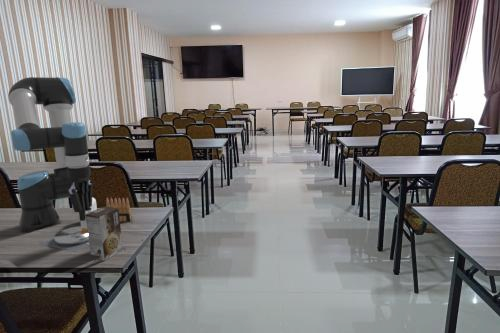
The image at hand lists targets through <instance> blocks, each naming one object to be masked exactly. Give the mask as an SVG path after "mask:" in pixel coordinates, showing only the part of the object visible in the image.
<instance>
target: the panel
mask: <svg viewBox="0 0 500 333" xmlns="http://www.w3.org/2000/svg"><path fill="white" fill-rule="evenodd" d="M38 245H39V246H46V247H50V248H55V249H60V250H66V251H71V252H77V251H79V250H81V249H83V248H85V247H87V246H90V245H89V241H87V242H85V243H81V244H77V245H71V246H61V245H57V244H56V243H55V238H54V237H53V238H50V239H48V240H46V241H43V242H41V243H39V244H38Z"/></svg>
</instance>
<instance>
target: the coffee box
mask: <svg viewBox="0 0 500 333" xmlns="http://www.w3.org/2000/svg"><path fill="white" fill-rule="evenodd" d="M86 221H87V229H88V237H89V245H88V246H89V250H90V252H89V253H90V255H92V256H97V257H96V258H95V260H97V261H98V260H99V261H102V262H106V261H107V260H109V259H110V258H112V257H114V256H116V255H117V254H119V253H121V252H122V251H123V250H124V248H123V237H122V228H121V221H120V219H119V210H118V208H113V207H107V205H106V206H103V207H100V208H97V210H95V211H92V212H90V213H88V214H86Z"/></svg>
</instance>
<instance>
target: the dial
mask: <svg viewBox="0 0 500 333" xmlns="http://www.w3.org/2000/svg"><path fill="white" fill-rule="evenodd" d="M53 238H55V243H56V244H57V245H61V246H71V245H77V244H81V243H85V242H87V241H89V237H88V229H87V228H81V225H79V226H72V227H69V228H66V229H62V230H60V231H58V232H56V233H55V235H54V236H53Z"/></svg>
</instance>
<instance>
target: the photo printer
mask: <svg viewBox="0 0 500 333" xmlns="http://www.w3.org/2000/svg"><path fill="white" fill-rule="evenodd" d="M90 208H91V210H89V213H90V212H92V211H95V210H97V209H98V208H97V200H96V198H94V197H93V196H92V206H91V207H90Z"/></svg>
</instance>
